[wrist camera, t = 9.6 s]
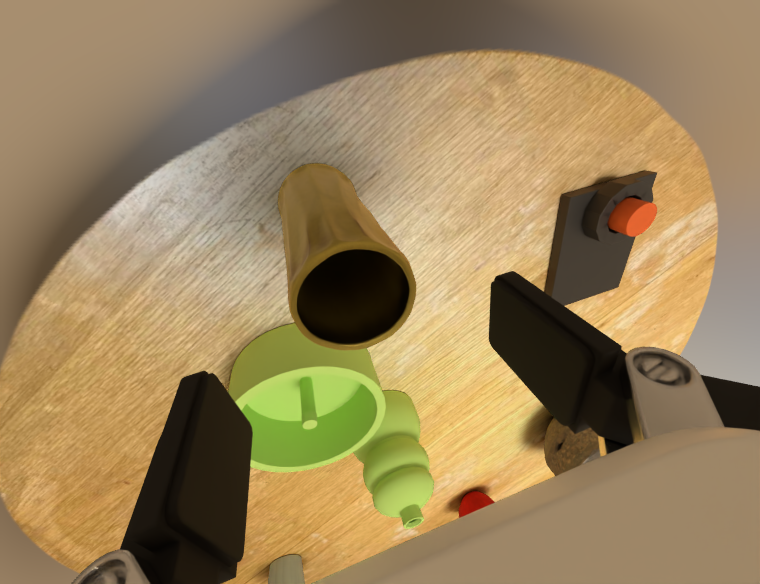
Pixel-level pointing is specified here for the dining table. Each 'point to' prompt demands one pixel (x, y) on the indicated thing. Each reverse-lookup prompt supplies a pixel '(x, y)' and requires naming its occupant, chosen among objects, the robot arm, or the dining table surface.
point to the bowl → (569, 447)
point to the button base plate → (592, 239)
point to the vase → (340, 263)
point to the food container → (331, 418)
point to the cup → (286, 570)
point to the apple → (473, 502)
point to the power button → (632, 216)
